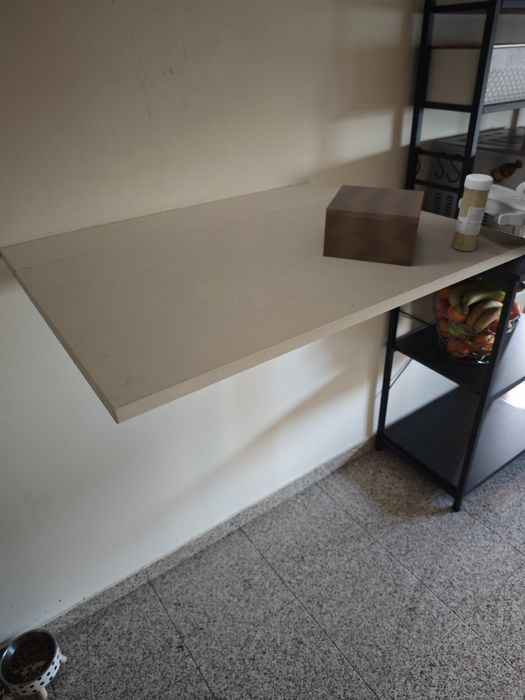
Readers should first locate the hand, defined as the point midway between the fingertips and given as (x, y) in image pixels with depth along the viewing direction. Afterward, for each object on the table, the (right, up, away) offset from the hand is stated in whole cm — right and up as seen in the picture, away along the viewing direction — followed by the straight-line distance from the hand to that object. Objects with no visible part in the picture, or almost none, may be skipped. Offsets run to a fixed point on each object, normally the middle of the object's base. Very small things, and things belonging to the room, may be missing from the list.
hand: (478, 211), depth 93 cm
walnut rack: (-19, -5, +5) cm, 20 cm away
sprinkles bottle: (-1, -6, +3) cm, 7 cm away
